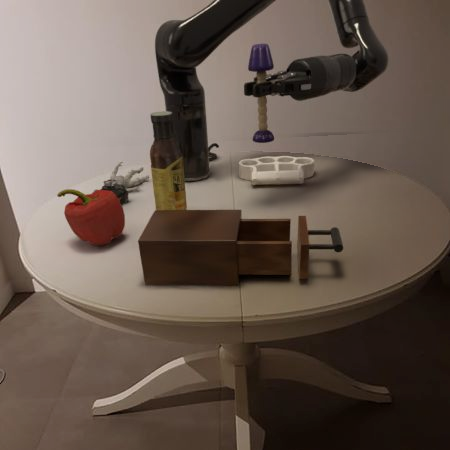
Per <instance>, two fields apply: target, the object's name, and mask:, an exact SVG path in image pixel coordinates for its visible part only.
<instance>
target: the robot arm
mask: <svg viewBox="0 0 450 450" xmlns="http://www.w3.org/2000/svg"><path fill="white" fill-rule="evenodd" d="M276 1H277V0H213V1H211V2H210V3H209V4H208V5H206V6H205V7H204V8H202V9H201V10H200V11H198V12H196V13H195V14H193V15H191V16H190V17H188V18H186V19H170V20H167V21H165V22H164V23H162V24H161V25H160V26H159V28H158V30H157V31H156V34H155V37H154V38H155V39H154V54H155V62H156V68H157V74H158V82H159V87H160V90H161V92H162V95H163V101H164V107H165V111H168V112H172V114H173V122H172V123H173V133H174V138H175V140H176V142H177V145H178V147H179V149H180V151H181V154H182V157H183V168H184V179H185V182H197V181H202V180H204V179H207V178H208V177H210V175H211V169H210V162H212V161H214V160H215V159H217V157H218V155H217V153H215V152H211V150H212V149H213V148H217V149H218V148H220V145H219V144H218V143H217V142H214V143H211V144H210V145H209V138H208V136H209V135H208V123H207V122H208V121H207V109H206V108H207V107H206V93H205V88H204V86H203V85H202V83H201V82H200V79H199V77H198V73H197V67H198V66H200V65H201V64H202V63H203V62H204V61H206V60H207V59H208V58H209V57H210V56H211V54H213V53H214V51H216V49H218V47H219V46H221V45H222V43H223V42H224V41H226V39H228V38H229V37H230V36H231V35H232V34H234V33H235V32H237V31H238V30H240V29H241V28H242V27H244V26H245V25H246V24H247V23H249V22H250V21H251V20H253V19H254V18H255V17H257V16H258V15H259V14H261V13H262V12H264V11H265V10H266V9H267V8H269V7H270V6H271V5H272V4H273V3H275V2H276ZM326 2H327V3H328V6H329V9H330V13H331V17H332V20H333V24H334V27H335V31H336V35H337V38H338V42H339V44H340V46H341V47H342V48H344V49H352V48H356V47H358V46H359V49H358V50H357V51H356V52H355V53H354V54H352V55H350V54H347V53H335V54H329V55H321V54H320V55H315V56H309V57H303V58H302V57H301V58H297V59H294V60H292V61H291V62H290V63H289V65H288V66H287V68H286V69H285V70H279V71H277V72H275V73H269V74H268V73H266V78H265V79H266V82H263V83H257V80H258V79H257V76H254V77H253V80H252V81H249V82H245V83H244V84H243V95H244V96H245V97H251V96H253V98H257V99H258V97H262V96H266V97H267V96H272V97H275V96H278V97H279V96H280V97H286V96H287V97H288V96H289V97H291V99H293V100H294V101H298V102H303V101H307V100H311V99H314V98H319V97H323V96H327V95H328V94H330V93H331V94H332V93H336V92H339V91H342V92H348V93H355V92H358V91H360V90H363V89H364V88H366V87H367V86H368V85H369V84H371V83H373V82H374V81H375V80H377V78H379V77H381V76H382V75H383V74H384V73H385V72H386V70H387V69H388V67H389V62H390V61H389V59H390V58H389V53H388V51H387V49H386V48H385V46H384V44H383V43H382V41H381V39H380V38H379V37H378V35H377V33H376V32H375V30H374V29H373V27H372V25H371V22H370V17H369V15H368V12H367V8H366V4H365V1H364V0H327V1H326Z"/></svg>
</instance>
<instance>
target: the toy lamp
mask: <svg viewBox="0 0 450 450" xmlns="http://www.w3.org/2000/svg"><path fill="white" fill-rule="evenodd" d="M249 54H250V55H249V61H248V66H247V70H248V71H249V72H252V73H253V72H255V74H256V77H257V79H258V80H257V83H263V82H266V79H265V78H266V74H267V72H268V71H272V70H274V68H275V67H274V66H275V65H274V61H273V56H272V53H271V49H270V45H269V44H268V43H255V44H253V45H252V46H251V49H250V53H249ZM267 104H268V98H267V96H262V97H258V98H257V105H258V106H257V113H258V117H257V120H258V130H257V131H256V132H254V133H253V136H252V142H253V143H258V144H266V143H271V142H274V140H275V136H274V133H273V132H272V131H271V130H269V129H268V128H269V127H268V126H269V125H268V114H267V113H268V107H267V106H268V105H267Z"/></svg>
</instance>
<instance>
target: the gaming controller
mask: <svg viewBox="0 0 450 450" xmlns="http://www.w3.org/2000/svg"><path fill="white" fill-rule="evenodd" d="M97 190H98V189H94V190H93V192H92V193H91V194H93V193H94V192H95V191H97ZM99 190H108V191H112V192H113V193H114V194H115V195H116V196H117V198H118V199H119V201H120V202H123V203H125V204H127V203H128V201H129V192H128V191H127V190H126V188H125V186H123V185H120V184H115V185H112V186H111V185H110V184H107V183H106V184H104V183H103V186H102V187H101V188H100V189H99Z"/></svg>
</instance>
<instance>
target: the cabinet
mask: <svg viewBox="0 0 450 450" xmlns="http://www.w3.org/2000/svg"><path fill="white" fill-rule="evenodd" d="M242 216H243V211H242V209H186V210H156V209H155V210H154V211H153V213H152V215H151V216H150V218H149V220H148V222H147V224H146V225H145V227H144V229H143V230H142V232H141V234H140V236H139V238H138V240H137V243H138V250H139V257H140V262H141V268H142V274H143V281H144V285H153V286H155V285H157V286H158V285H159V286H160V285H163V286H164V285H168V286H169V285H171V286H239V280H240V274H238V262H237V239H238V233H239V227H240V220H241V219H243V217H242Z"/></svg>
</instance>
